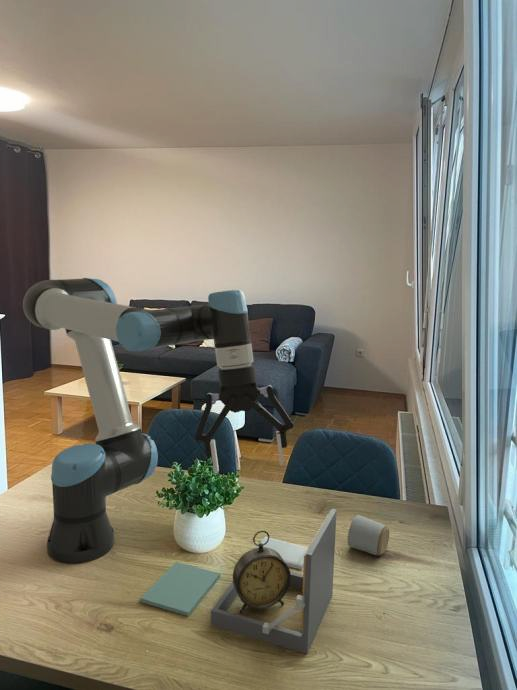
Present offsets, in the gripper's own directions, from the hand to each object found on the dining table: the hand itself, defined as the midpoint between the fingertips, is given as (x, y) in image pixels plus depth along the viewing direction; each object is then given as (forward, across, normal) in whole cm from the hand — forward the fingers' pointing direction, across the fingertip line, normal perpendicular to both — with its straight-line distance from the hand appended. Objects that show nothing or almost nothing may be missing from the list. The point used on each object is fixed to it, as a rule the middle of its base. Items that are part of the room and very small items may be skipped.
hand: (249, 467), depth 112 cm
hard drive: (+26, +4, +14) cm, 30 cm away
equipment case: (+27, +2, -6) cm, 28 cm away
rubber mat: (+24, -17, 0) cm, 29 cm away
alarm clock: (+27, -1, -5) cm, 27 cm away
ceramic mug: (+28, +25, +17) cm, 42 cm away
